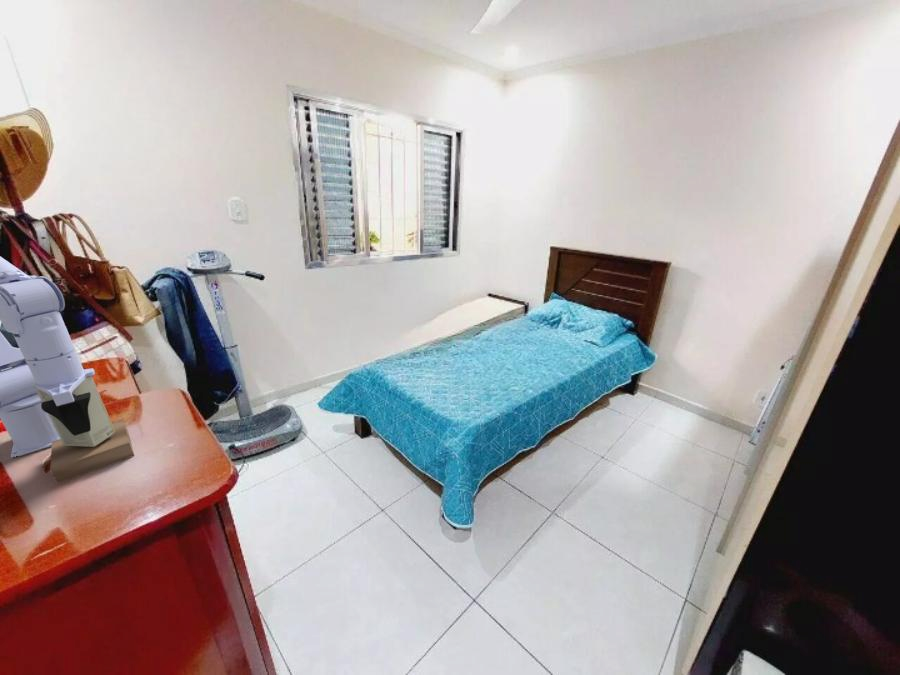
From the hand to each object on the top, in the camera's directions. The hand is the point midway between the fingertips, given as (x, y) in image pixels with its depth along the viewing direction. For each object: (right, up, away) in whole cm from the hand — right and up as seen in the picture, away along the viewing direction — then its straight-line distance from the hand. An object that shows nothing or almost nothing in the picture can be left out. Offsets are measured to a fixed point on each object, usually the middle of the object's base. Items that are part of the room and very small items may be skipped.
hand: (81, 422), depth 64 cm
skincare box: (0, -4, +1) cm, 4 cm away
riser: (0, -7, +3) cm, 7 cm away
